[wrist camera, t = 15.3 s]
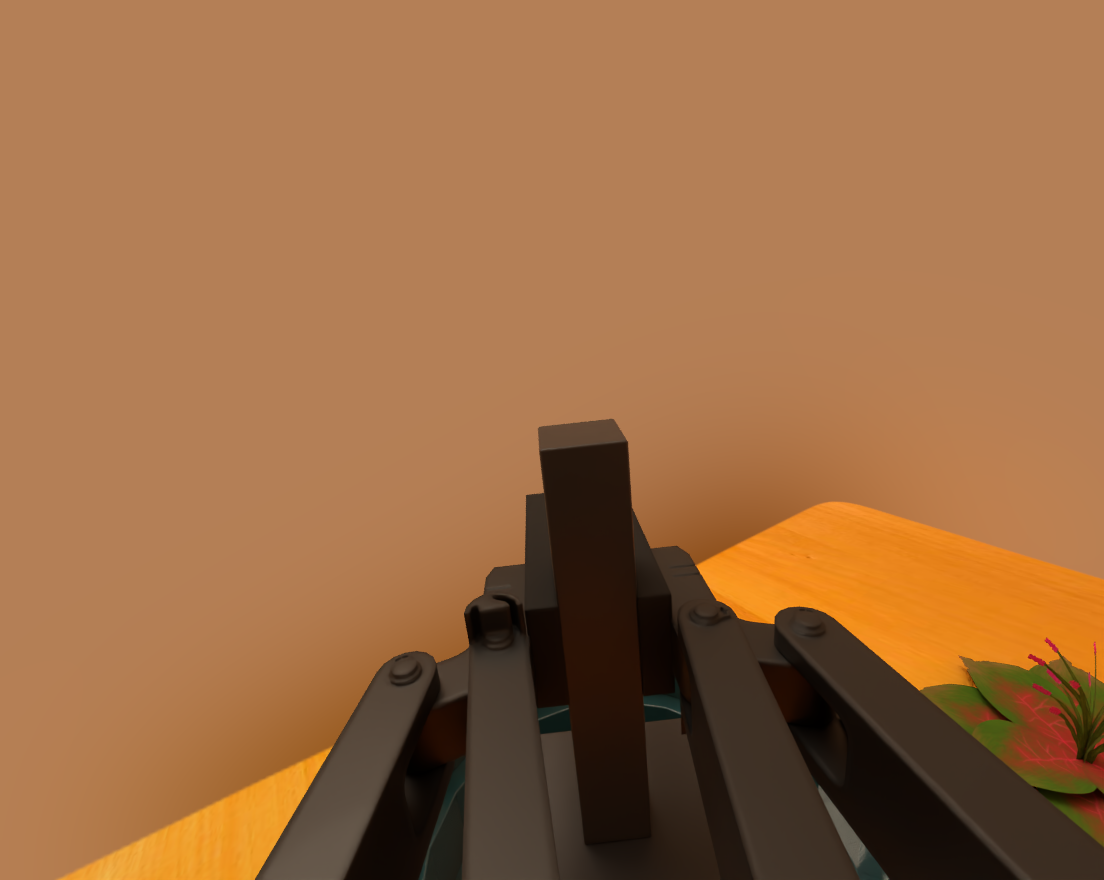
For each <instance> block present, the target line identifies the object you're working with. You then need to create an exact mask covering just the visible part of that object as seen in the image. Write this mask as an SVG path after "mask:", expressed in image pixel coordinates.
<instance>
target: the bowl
mask: <svg viewBox="0 0 1104 880" xmlns="http://www.w3.org/2000/svg"><path fill="white" fill-rule="evenodd" d="M643 699H644V715H645V722H651V721H660V720H669V719H677V718H681V709H680V688H679V686H678V683H677V680H676V678H675V693H668V694H659V695H650V696H644V695H643ZM537 713H538V720H539V728H540V734H547V733H555V732H564V731H571V724H570V715H569V707H568V705H563V706H554V707H545V708H538V707H537ZM465 767H466V755H465V756H462V757H460V758H458V759H455V764H454V769H453V772H452V775H451V778H450V782H449V785H448V788H447V791H446V794H445V797H444V801H443V804H442V807H441V810H440V813H439V816H438V819H437V823H436V826H435V829H434V832H433V835H432V838H431V842H430V845H429V848H428V851H427V854H426V857H425V861H424V864H423V867H422V870H421V873H420V876H419V879H418V880H462V860H463V829H464V798H465ZM811 776H812V775H811ZM812 778H813V776H812ZM813 780H814V782H815V784H816V786H817V789H818V791H819V793H820V795H821V797H822V799H823V801H824V804H825V806H826V808H827V810H828V812H829V814H830V816H831V818H832V821H833V823H834V825H835V827H836V829H837V831H838V833H839V836H840V838H841V840H842V842H843V844H844V846H845V848H846V850H847V853H848V855H849V857H850V859H851V861H852V863H853V865H854V867H855V870H856V872H857V874H858V876H859V878H860V880H890V879H889V877H888V876H887V875H886V873H885V872H884V871H883V869H882V868H881V867H880V865H879V864H878V863H877V861H876V860H875V859H874V857H873V856H872V855H871V853H870V852H869V851H868V849H867V848H866V847H865V845H864V844H863V843H862V841H861V840H860V839H859V838H858V836H857V835H856V834H855V832H854V831H853V830H852V828H851V827H850V826H849V824H848V823H847V822H846V820H845V819H844V818H843V816H842V815H841V814H840V812H839V811H838V810H837V808H836V807H835V806H834V804H833V803H832V802H831V800H830V799H829V798H828V796H827V795H826V794H825V792H824V791H823V790H822V788H821V787H820V786H819V784H818V783H817V782H816V780H815V779H814V778H813Z"/></svg>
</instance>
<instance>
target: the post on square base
mask: <svg viewBox="0 0 1104 880" xmlns="http://www.w3.org/2000/svg"><path fill="white" fill-rule="evenodd" d="M538 436H539V452H540V461H541V470H542V479H543V488H544V497H545V506H546V514H547V523H548V532H549V540H550V549H551V558H552V567H553V575H554V584H555V593H556V602H557V605H558V610H559V619H560V628H561V636H562V645H563V654H564V663H565V671H566V680H567V689H568V698H569V705H568V707H569V715H570V724H571V731H564V732H555V733H547V734H540V735H541V742H542V750H543V757H544V765H545V772H546V780H547V787H548V794H549V802H550V809H551V817H552V824H553V832H554V839H555V847H556V854H557V861H558V869H559V876H560V880H721V877H720V873H719V869H718V865H717V860H716V856H715V852H714V848H713V843H712V839H711V835H710V831H709V827H708V822H707V818H706V814H705V810H704V805H703V801H702V797H701V793H700V789H699V784H698V780H697V776H696V772H695V768H694V763H693V759H692V755H691V751H690V746H689V742H688V738H687V734H683V735H681V718H677V719H669V720H660V721H651V722H645V715H644V699H643V684H642V668H641V652H640V635H639V619H638V602H637V583H636V567H635V551H634V534H633V518H632V502H631V485H630V468H629V452H628V441H627V440H626V438H625V436H624V435H623V433H622V432H621V430H620V429H619V427H618V425H617V424H616V422H615V421H614V419H609V420H598V421H589V422H580V423H571V424H561V425H552V426H543V427H539V428H538Z"/></svg>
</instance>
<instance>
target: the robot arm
mask: <svg viewBox="0 0 1104 880" xmlns="http://www.w3.org/2000/svg"><path fill="white" fill-rule="evenodd" d="M632 518H633V534H634V551H635V567H636V583H637V602H638V619H639V635H640V652H641V668H642V684H643V695H644V696H650V695H659V694H668V693H675V678H676V680H677V683H678V686H679V688H680V709H681V735H683V734H687V738H688V742H689V746H690V751H691V755H692V759H693V763H694V768H695V772H696V776H697V780H698V784H699V789H700V793H701V797H702V801H703V805H704V810H705V814H706V818H707V822H708V827H709V831H710V835H711V839H712V843H713V848H714V852H715V856H716V860H717V865H718V869H719V873H720V877H721V880H860V878H859V876H858V874H857V872H856V870H855V867H854V865H853V863H852V861H851V859H850V857H849V855H848V853H847V850H846V848H845V846H844V844H843V842H842V840H841V838H840V836H839V833H838V831H837V829H836V827H835V825H834V823H833V821H832V818H831V816H830V814H829V812H828V810H827V808H826V806H825V804H824V801H823V799H822V797H821V795H820V793H819V791H818V789H817V786H816V784H815V782H814V780H813V778H814V779H815V780H816V782H817V783H818V784H819V786H820V787H821V788H822V790H823V791H824V792H825V794H826V795H827V796H828V798H829V799H830V800H831V802H832V803H833V804H834V806H835V807H836V808H837V810H838V811H839V812H840V814H841V815H842V816H843V818H844V819H845V820H846V822H847V823H848V824H849V826H850V827H851V828H852V830H853V831H854V832H855V834H856V835H857V836H858V838H859V839H860V840H861V841H862V843H863V844H864V845H865V847H866V848H867V849H868V851H869V852H870V853H871V855H872V856H873V857H874V859H875V860H876V861H877V863H878V864H879V865H880V867H881V868H882V869H883V871H884V872H885V873H886V875H887V876H888V877H889V879H890V880H1104V847H1103V846H1102V845H1101V844H1099V843H1098V842H1097V841H1096V840H1095V839H1094V838H1092V837H1091V836H1090V835H1089V834H1088V833H1087V832H1085V831H1084V830H1083V829H1082V828H1081V827H1079V826H1078V825H1077V824H1076V823H1075V822H1074V821H1072V820H1071V819H1070V818H1069V817H1068V816H1066V815H1065V814H1064V813H1063V812H1062V811H1061V810H1059V809H1058V808H1057V807H1056V806H1055V805H1053V804H1052V803H1051V802H1050V801H1049V800H1048V799H1046V798H1045V797H1044V796H1043V795H1042V794H1040V793H1039V792H1038V791H1037V790H1036V789H1035V788H1033V787H1032V786H1031V785H1030V784H1029V783H1027V782H1026V781H1025V780H1024V779H1023V778H1022V777H1020V776H1019V775H1018V774H1017V773H1016V772H1015V771H1013V770H1012V769H1011V768H1010V767H1009V766H1007V765H1006V764H1005V763H1004V762H1003V761H1002V760H1000V759H999V758H998V757H997V756H996V755H994V754H993V753H992V752H991V751H990V750H989V749H987V748H986V747H985V746H984V745H983V744H981V743H980V742H979V741H978V740H977V739H976V738H974V737H973V736H972V735H971V734H970V733H968V732H967V731H966V730H965V729H964V728H963V727H961V726H960V725H959V724H958V723H957V722H955V721H954V720H953V719H952V718H951V717H950V716H948V715H947V714H946V713H945V712H944V711H942V710H941V709H940V708H939V707H938V706H937V705H935V704H934V703H933V702H932V701H931V700H930V699H928V698H927V697H926V696H925V695H924V694H922V693H921V692H920V691H919V690H918V689H917V688H915V687H914V686H913V685H912V684H911V683H909V682H908V681H907V680H906V679H905V678H904V677H902V676H901V675H900V674H899V673H898V672H896V671H895V670H894V669H893V668H892V667H891V666H889V665H888V664H887V663H886V662H885V661H883V660H882V659H881V658H880V657H879V656H878V655H876V654H875V653H874V652H873V651H872V650H870V649H869V648H868V647H867V646H866V645H865V644H863V643H862V642H861V641H860V640H859V639H857V638H856V637H855V636H854V635H853V634H852V633H850V632H849V631H848V630H847V629H846V628H845V627H843V626H842V625H841V624H840V623H839V622H837V621H836V620H835V619H834V618H832V617H831V616H829V615H827V614H826V613H824V612H821V611H818V610H815V609H813V608H807V607H789V608H786V609H783V610H781V611H779V612H778V614H777V615H776V616H775V624H767V623H757V622H750V621H745V620H742V619H739V618H737V616H736V614H735V613H734V611H733V610H732V609H731V608H730V607H729V606H727V605H725V604H724V603H722V602H719V601H716V599H715V597H714V596H713V594H712V592H711V591H710V589H709V587H708V586H707V584H706V582H705V580H704V579H703V577H702V575H701V574H700V572H699V570H698V569H697V567H696V566H695V564H694V562H693V560H692V559H691V557H690V555H689V554H688V553H687V552H685V551H684V550H682V549H680V548H679V547H678V546H671V547H662V548H654V549H651V548H650V546H649V544H648V542H647V539H646V538H645V535H644V534H643V531H642V529H641V526H640V525H639V522H638V520H637V518H636V515H635V513H634V511H633V509H632ZM525 543H526V544H525V564H521V565H513V566H503V567H495V568H494V569H493V570H492V571H491V572H490V574H489V575H488V576H487V577H486V582H485V588H484V595H482V596H480V597H478V598H476V599H474V600H473V601H472V602H471V603H470V604H469V605H468V606H467V607H466V609H465V612H464V617H465V622H466V628H467V633H468V639H469V648H468V649H466V650H465V651H464V652H462V653H460V654H459V655H457V656H454V657H452V658H450V659H447V660H444V661H441V662H438V663H436V662H435V660H434V657H433V656H431V655H429V654H428V653H425V652H418V651H415V652H408V653H404V654H401V655H398V656H396V657H393V658H392V659H391V660H389V661H388V662H386V663H385V664H384V665H383V666H382V667H381V668H380V669H379V671H378V672H377V673H376V675H375V676H374V678H373V680H372V681H371V683H370V685H369V686H368V688H367V690H366V692H365V693H364V695H363V697H362V698H361V700H360V702H359V703H358V705H357V707H356V709H355V710H354V712H353V714H352V715H351V717H350V719H349V720H348V722H347V724H346V726H345V727H344V729H343V731H342V733H341V734H340V736H339V737H338V739H337V741H336V743H335V744H334V746H333V748H332V749H331V751H330V753H329V754H328V756H327V758H326V760H325V761H324V763H323V765H322V766H321V768H320V770H319V771H318V773H317V775H316V777H315V778H314V780H313V782H312V783H311V785H310V787H309V788H308V790H307V792H306V794H305V795H304V797H303V799H302V800H301V802H300V804H299V805H298V807H297V809H296V811H295V812H294V814H293V816H292V817H291V819H290V821H289V822H288V824H287V826H286V828H285V829H284V831H283V833H282V834H281V836H280V838H279V840H278V841H277V843H276V845H275V846H274V848H273V850H272V851H271V853H270V855H269V857H268V858H267V860H266V862H265V863H264V865H263V867H262V868H261V870H260V872H259V874H258V875H257V877H256V879H255V880H418V879H419V876H420V873H421V870H422V867H423V864H424V861H425V857H426V854H427V851H428V848H429V845H430V842H431V838H432V835H433V832H434V829H435V826H436V823H437V819H438V816H439V813H440V810H441V807H442V804H443V801H444V797H445V794H446V791H447V788H448V785H449V782H450V778H451V775H452V772H453V769H454V764H455V759H458V758H460V757H462V756H465V755H466V767H465V798H464V829H463V860H462V880H560V876H559V869H558V861H557V854H556V847H555V839H554V832H553V824H552V817H551V809H550V802H549V794H548V787H547V780H546V772H545V765H544V757H543V750H542V742H541V735H540V728H539V720H538V713H537V707H538V708H545V707H554V706H563V705H569V698H568V689H567V680H566V671H565V663H564V654H563V645H562V636H561V628H560V619H559V610H558V605H557V602H556V593H555V584H554V575H553V567H552V558H551V549H550V540H549V532H548V523H547V514H546V506H545V497H544V493H542V494H532V495H526V541H525ZM811 775H812V776H813V778H812V776H811Z"/></svg>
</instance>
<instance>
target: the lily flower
mask: <svg viewBox="0 0 1104 880" xmlns="http://www.w3.org/2000/svg"><path fill="white" fill-rule="evenodd" d="M1045 642H1046V643H1048V644H1049V646H1050V647H1052V649H1053V650H1054V651H1055V652H1056V653H1058V654H1059V656H1060V657H1061V658H1060V659H1059V660H1054V661H1050V662H1049V663H1050V664H1049V665H1047V664H1046V662H1045V661H1042V659H1039V658H1036V656H1033V655H1031V654H1029V656H1028V658H1029V659H1033V660H1034V661H1035V662H1038V664H1039V665H1036V666H1034V667H1033V668H1031V669H1030V671H1028V670H1025V669H1023V668H1020V667H1018V666H1014V665H1008V664H1002V663H996V662H989V661H981V662H980V661H976V662H974V661H973V660H972V659H969V658H965V657H962V656H959V657H960V658H961V659H962V660H963V663H964V665H965V666H966V667H968V668H969V669H967V671H968V672H969V674H970V676H971V677H972V679H973V681H974V683H975V685H976V686H977V688H974V687H970V686H965V685H957V684H945V685H937V686H931V687H926V688H924V689H923V690H921V691H920V692H921V693H922V694H924V695H925V696H926V697H927V698H928V699H930V700H931V701H932V702H933V703H934V704H935V705H937V706H938V707H939V708H940V709H941V710H942V711H944V712H945V713H946V714H947V715H948V716H950V717H951V718H952V719H953V720H954V721H955V722H957V723H958V724H959V725H960V726H961V727H963V728H964V729H965V730H966V731H967V732H968V733H970V734H971V735H972V736H973V737H974V738H976V739H977V740H978V741H979V742H980V743H981V744H983V745H984V746H985V747H986V748H987V749H989V750H990V751H991V752H992V753H993V754H994V755H996V756H997V757H998V758H999V759H1000V760H1002V761H1003V762H1004V763H1005V764H1006V765H1007V766H1009V767H1010V768H1011V769H1012V770H1013V771H1015V772H1016V773H1017V774H1018V775H1019V776H1020V777H1022V778H1023V779H1024V780H1025V781H1026V782H1027V783H1029V784H1030V785H1031V786H1035V787H1037V790H1038V792H1039V793H1040V794H1042V795H1043V796H1044V797H1045V798H1046V799H1048V800H1049V801H1050V802H1051V803H1052V804H1053V805H1055V806H1056V807H1057V808H1058V809H1059V810H1061V811H1062V812H1063V813H1064V814H1065V815H1066V816H1068V817H1069V818H1070V819H1071V820H1072V821H1074V822H1075V823H1076V824H1077V825H1078V826H1079V827H1081V828H1082V829H1083V830H1084V831H1085V832H1087V833H1088V834H1089V835H1090V836H1091V837H1092V838H1094V839H1095V840H1096V841H1097V842H1098V843H1099V844H1101V845H1102V846H1103V847H1104V683H1102V682H1101V681H1099V680H1098V679H1096V646H1095V642H1094V650H1095V652H1094V653H1095V677H1093V676H1091V675H1090V672H1089V674H1088V673H1087V672H1085V671H1083V670H1082V669H1077V668H1076V667H1073V666H1072V665H1071V664H1072V663H1071V662H1069V661H1068V660H1067V659H1066V658H1065V657H1064V656H1062V655H1061V654H1060V653H1059V651H1058V648H1057V647H1056V646H1055V645H1054V644H1053V643H1051V641H1050V640H1049V639H1048V638H1046V640H1045Z"/></svg>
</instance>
